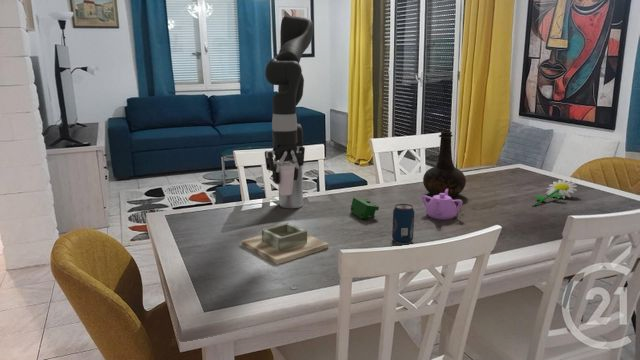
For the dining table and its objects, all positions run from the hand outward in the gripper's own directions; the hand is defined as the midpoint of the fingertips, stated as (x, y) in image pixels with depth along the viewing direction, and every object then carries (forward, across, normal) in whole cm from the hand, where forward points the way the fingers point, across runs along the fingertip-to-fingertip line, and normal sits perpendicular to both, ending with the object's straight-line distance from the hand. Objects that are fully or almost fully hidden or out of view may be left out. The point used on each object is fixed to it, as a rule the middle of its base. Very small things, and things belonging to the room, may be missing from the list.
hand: (285, 181), depth 158 cm
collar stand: (+22, +1, 0) cm, 22 cm away
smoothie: (+4, 0, 0) cm, 4 cm away
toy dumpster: (+22, -42, -6) cm, 48 cm away
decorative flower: (+22, -116, +30) cm, 122 cm away
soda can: (+22, -32, +21) cm, 44 cm away
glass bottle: (+22, -87, -3) cm, 90 cm away
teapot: (+22, -63, +13) cm, 68 cm away
